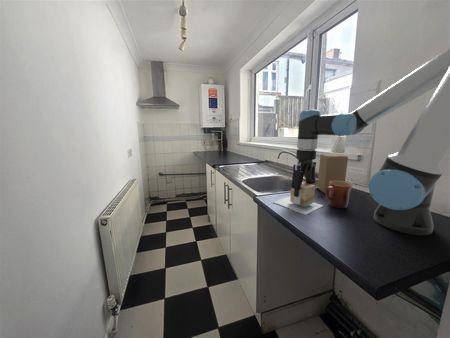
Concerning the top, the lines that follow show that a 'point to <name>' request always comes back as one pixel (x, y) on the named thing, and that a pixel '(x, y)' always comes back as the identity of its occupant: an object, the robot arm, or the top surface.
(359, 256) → the top surface
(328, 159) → the wooden block
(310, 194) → the oak block
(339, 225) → the top surface
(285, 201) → the board
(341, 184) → the mug
